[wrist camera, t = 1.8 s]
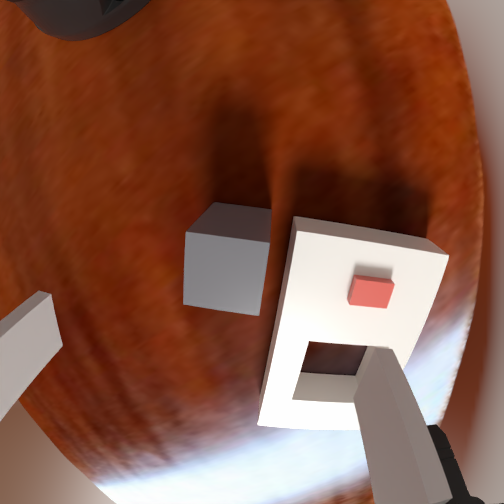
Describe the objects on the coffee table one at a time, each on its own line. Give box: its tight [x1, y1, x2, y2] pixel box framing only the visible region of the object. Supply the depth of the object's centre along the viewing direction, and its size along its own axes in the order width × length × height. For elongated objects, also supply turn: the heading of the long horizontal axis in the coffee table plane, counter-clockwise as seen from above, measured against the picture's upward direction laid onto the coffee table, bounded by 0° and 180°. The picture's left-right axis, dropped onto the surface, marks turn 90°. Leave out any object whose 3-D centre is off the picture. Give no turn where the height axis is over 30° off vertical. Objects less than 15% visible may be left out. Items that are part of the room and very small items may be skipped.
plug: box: [183, 202, 272, 316], centre depth 21 cm, size 4×4×8 cm
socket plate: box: [257, 216, 449, 430], centre depth 25 cm, size 20×12×5 cm, turn 173°
